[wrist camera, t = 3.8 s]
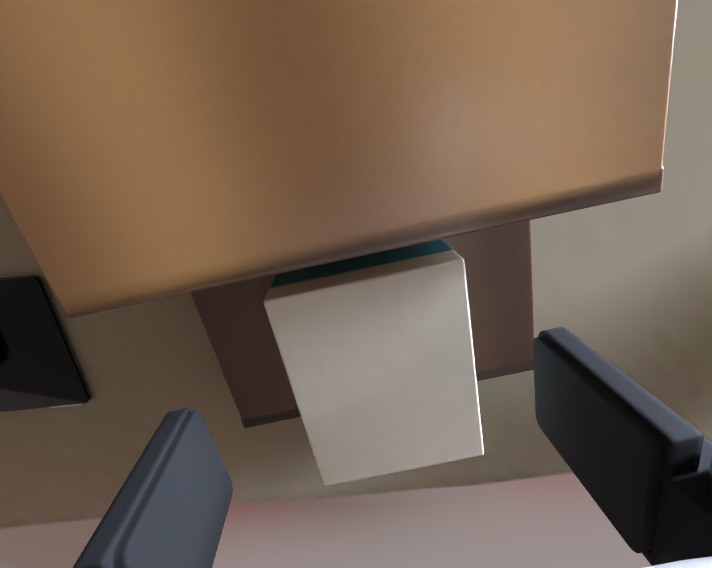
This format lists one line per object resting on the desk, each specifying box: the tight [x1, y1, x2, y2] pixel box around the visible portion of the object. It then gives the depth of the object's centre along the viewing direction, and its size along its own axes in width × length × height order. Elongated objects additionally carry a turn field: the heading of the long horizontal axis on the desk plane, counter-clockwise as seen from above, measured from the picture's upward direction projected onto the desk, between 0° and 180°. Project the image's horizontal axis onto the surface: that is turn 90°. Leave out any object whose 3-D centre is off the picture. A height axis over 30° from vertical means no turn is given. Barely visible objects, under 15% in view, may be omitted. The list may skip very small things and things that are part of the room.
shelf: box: [0, 0, 678, 428], centre depth 12 cm, size 14×18×8 cm
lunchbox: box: [264, 239, 484, 486], centre depth 13 cm, size 6×7×5 cm
